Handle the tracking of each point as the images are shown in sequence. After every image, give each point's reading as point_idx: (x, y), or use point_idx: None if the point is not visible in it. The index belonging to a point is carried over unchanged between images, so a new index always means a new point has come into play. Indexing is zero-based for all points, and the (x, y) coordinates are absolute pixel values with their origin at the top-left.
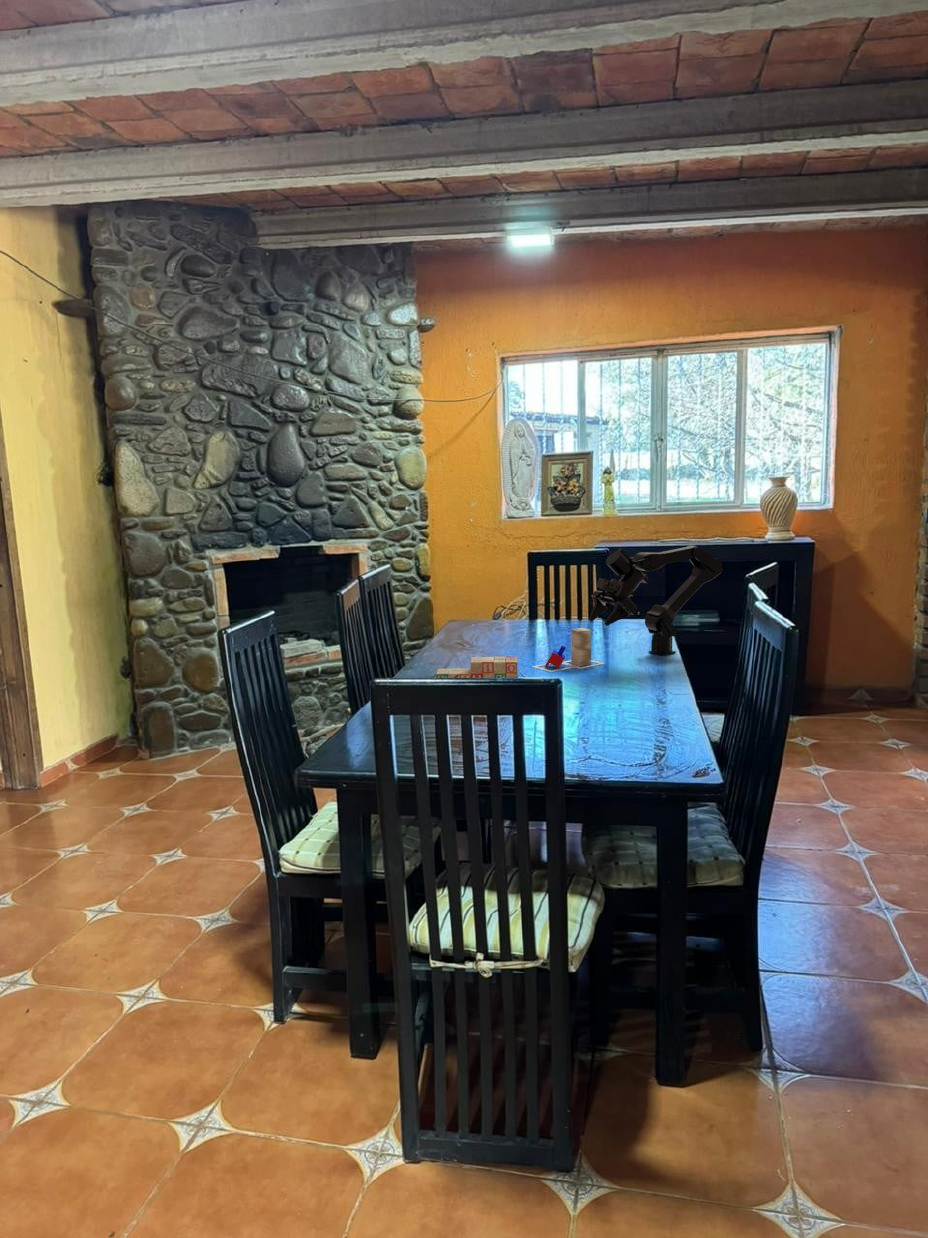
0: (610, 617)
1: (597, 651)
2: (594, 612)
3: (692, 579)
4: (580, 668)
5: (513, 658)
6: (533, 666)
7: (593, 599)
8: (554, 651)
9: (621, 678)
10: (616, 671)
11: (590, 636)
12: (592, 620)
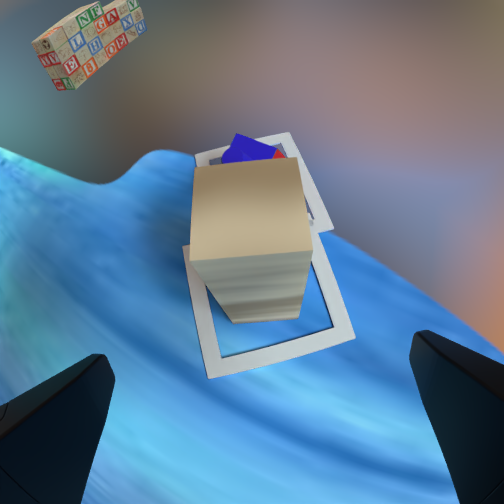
0: (31, 392)
1: None
2: (468, 393)
3: None
4: (183, 249)
5: (47, 35)
6: (287, 135)
7: None
8: (256, 146)
9: (30, 307)
10: (89, 348)
11: (202, 276)
12: (412, 367)
